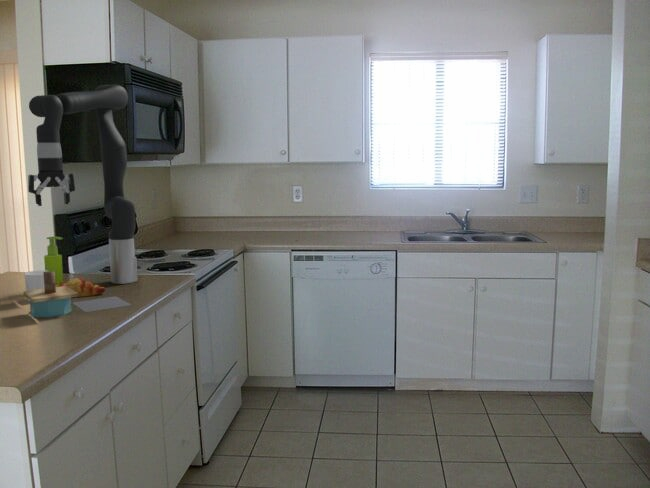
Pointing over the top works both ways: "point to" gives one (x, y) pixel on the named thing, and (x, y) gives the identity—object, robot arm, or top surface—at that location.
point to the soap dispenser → (54, 260)
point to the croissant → (82, 287)
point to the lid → (50, 290)
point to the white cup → (34, 280)
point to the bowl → (50, 308)
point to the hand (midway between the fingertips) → (53, 205)
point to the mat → (101, 304)
